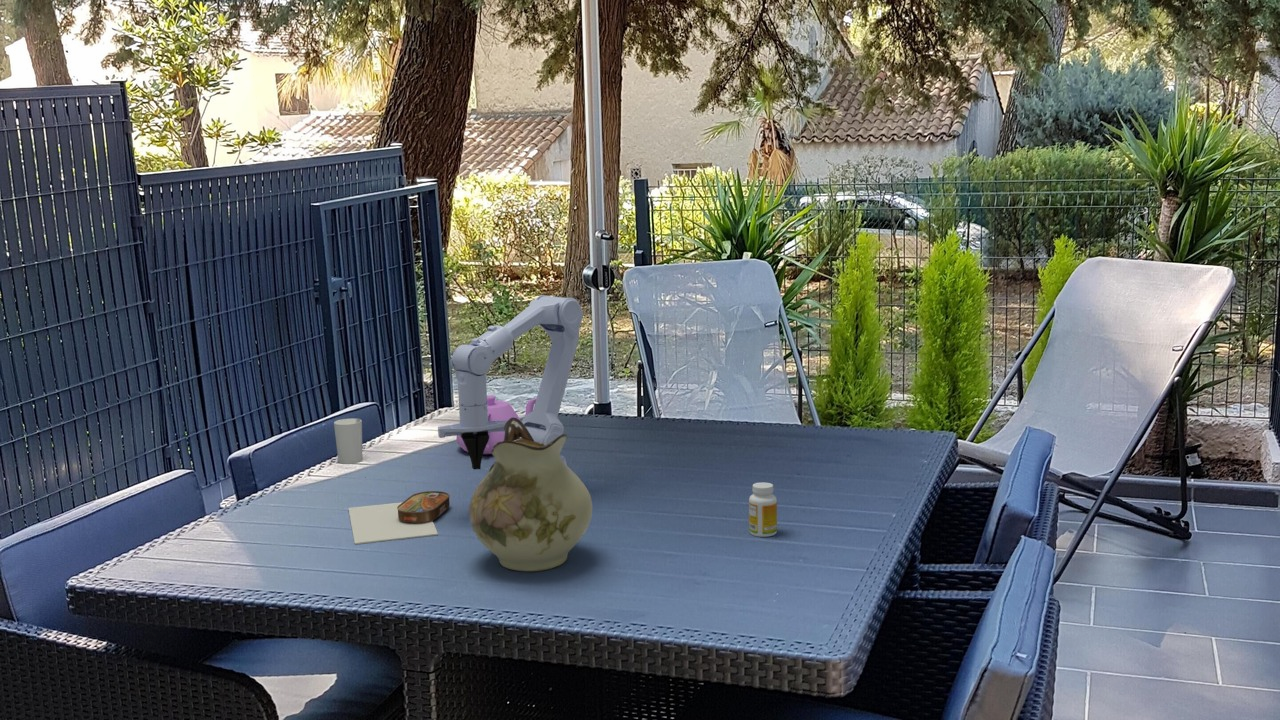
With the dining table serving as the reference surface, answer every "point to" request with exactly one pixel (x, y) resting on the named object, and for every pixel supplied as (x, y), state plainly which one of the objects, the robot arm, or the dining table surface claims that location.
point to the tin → (423, 507)
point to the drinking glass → (349, 440)
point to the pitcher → (529, 503)
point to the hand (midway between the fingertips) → (476, 468)
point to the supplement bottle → (762, 510)
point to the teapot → (498, 413)
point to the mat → (385, 524)
